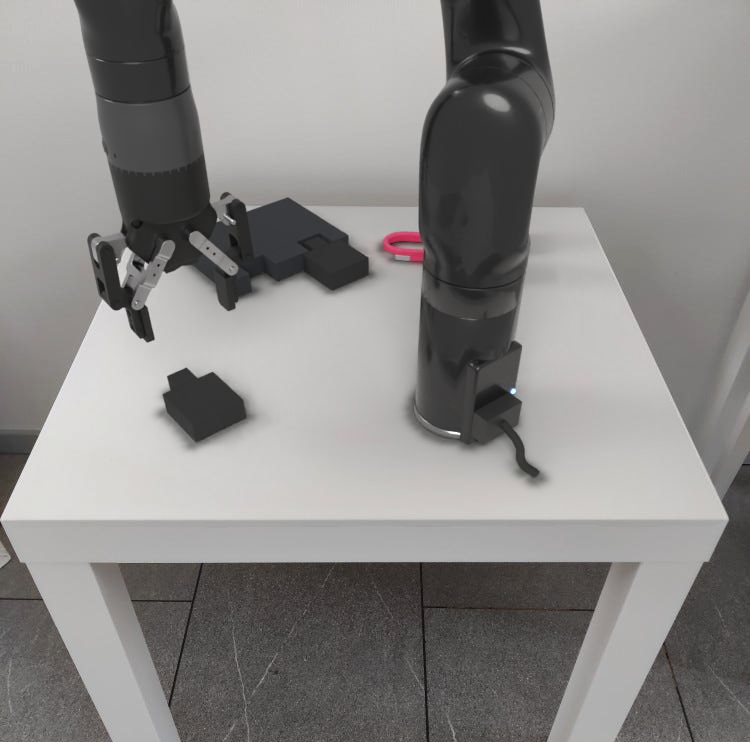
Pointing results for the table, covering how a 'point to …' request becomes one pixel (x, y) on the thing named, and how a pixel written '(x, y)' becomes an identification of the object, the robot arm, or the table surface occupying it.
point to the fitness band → (401, 252)
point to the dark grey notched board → (274, 241)
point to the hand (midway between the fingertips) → (188, 321)
